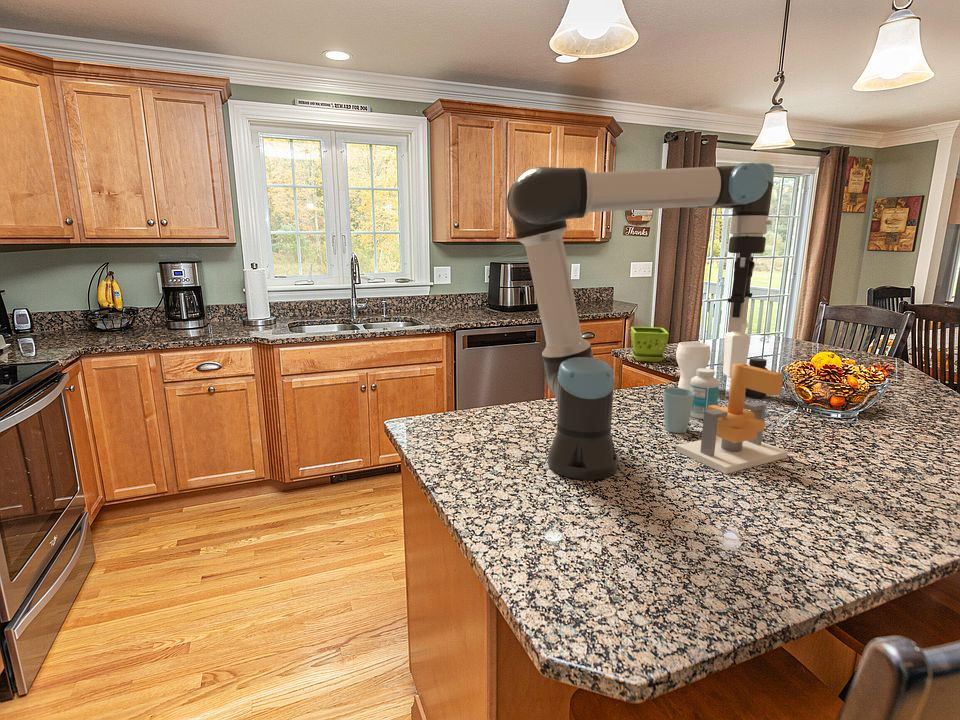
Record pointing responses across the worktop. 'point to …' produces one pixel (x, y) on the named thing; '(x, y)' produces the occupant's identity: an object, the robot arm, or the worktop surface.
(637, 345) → the flower pot
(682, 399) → the cup
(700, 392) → the pill bottle
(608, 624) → the worktop surface
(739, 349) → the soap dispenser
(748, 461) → the base
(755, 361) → the supplement bottle
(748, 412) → the lever handle
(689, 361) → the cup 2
